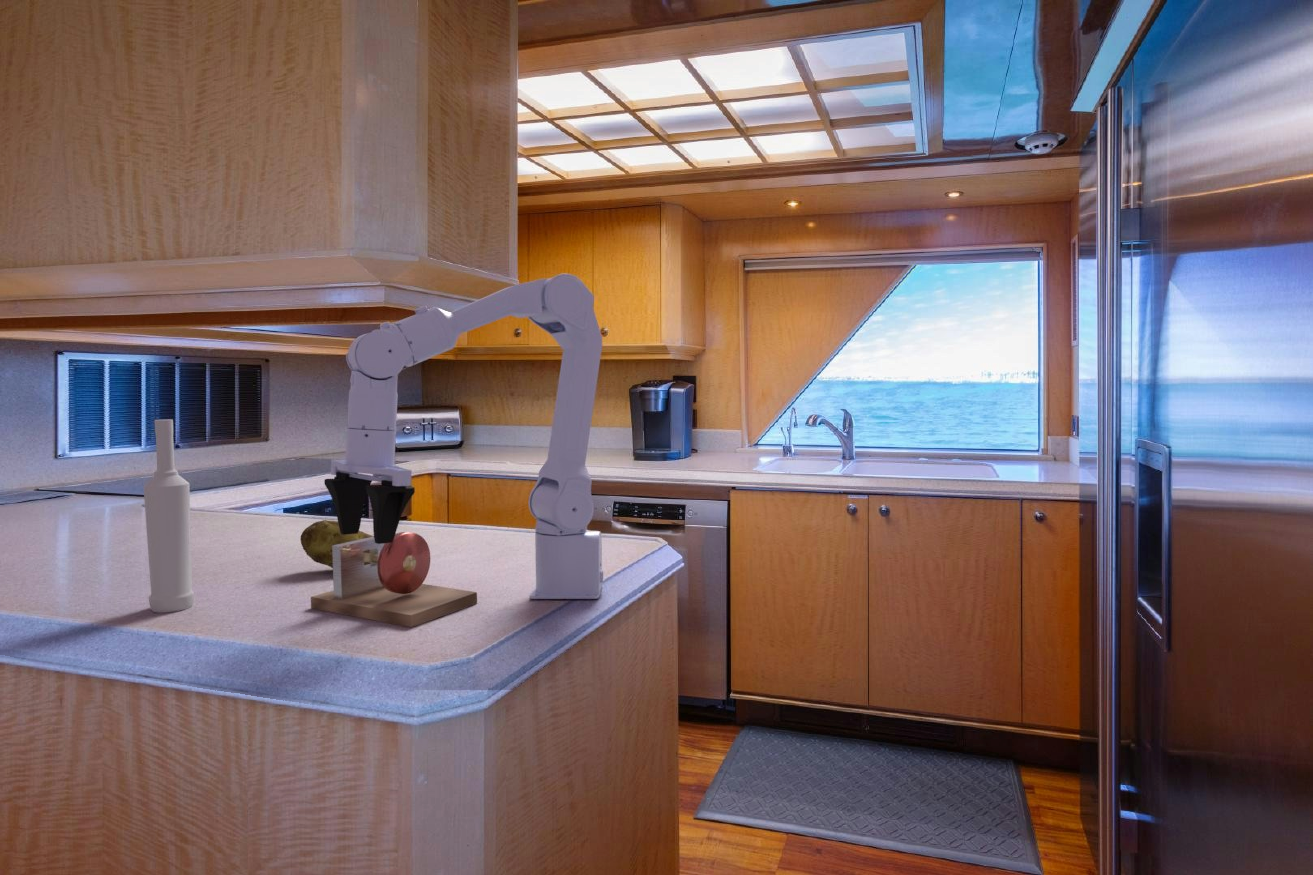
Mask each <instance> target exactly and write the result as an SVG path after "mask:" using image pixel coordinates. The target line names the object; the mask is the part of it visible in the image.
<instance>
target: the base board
mask: <svg viewBox="0 0 1313 875" xmlns="http://www.w3.org/2000/svg"><path fill="white" fill-rule="evenodd" d="M476 604H478V592H477V591H471V590H465V589H458V588H452V587H446V586H440V585H439V586H438V585H432V584H428V583H427V584H426V583H422V584H421V586H420V587H419V588H418V589H416V590H415V591H413V592H411V593H409V594H399V593H393V592H390V591H388V590H387V589H385V588H384V587H383V588H379V589H376V590H373V591H369V592H366V593H362V594H359V595H356V596H352V597H349V598H346V599H342V600H341V599H336V598H334V590H330V591H327V592H322V593H320V594H317V595H313V596H310V608H311V609H313V610H318V611H319V610H320V611H325V612H329V613H330V612H331V613H335V614H340V615H347V616H350V617H355V618H362V619H365V620H372V621H376V622H382V623H388V624H393V625H398V626H402V627H409V628H412V627H413V628H414V627H416V626H418V625H419V626H420V625H421V624H424V623H427V622H430V621H432V620H435V619H437V618H440V617H443V616H446V615H448V614H451V613H455V612H458V611H460V610H462V609H465V608H468V607H470V606H473V605H476Z"/></svg>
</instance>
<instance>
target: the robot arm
mask: <svg viewBox="0 0 1313 875" xmlns="http://www.w3.org/2000/svg"><path fill="white" fill-rule="evenodd" d="M594 300H595V295H594V294H593V293H592V292H591V291H590V290H589V287H587V286H586V284H585V283H584V282H583V281H582V280H581V279H580V278H578V276H576V275H574V274H572V273H560V274H556V275H555V276H553V277H550V278H547V277H546V278H541V279H535V280H533V281H528V282H527V281H526V282H523V283H517V284H515V285H511V286H508V287H505V288H503V289H500V290H498V291H495V292H493V293H491V294H489V295H486V296H484V297H481V298H479V299H477V300H475V301H472V302H471V303H468V304H466V305H464V306H461V307H459V308H457V309H455V310H452V311H446V310H444V309H442V308H440V307H437V306H433V307H430V308H428V306H427V305H423V306H421V307H418V308H416V309H414V312H415V314H414V315H413V314H412V315H411V316H409V317H408V316H407V317H405V318H403V319H400V320H397V321H395V322H393V323H390V321H385V322H382V323H380V324H379V328H380V329H379V328H378V329H373V330H372V331H371V332H367V333H364V334H361V335H359V336H358V337H356V338H355V339H354V340H353V341H352V343H351V344H350V346H349V348H348V351H347V353H346V354H345V361H346V363H347V366H348V369H350V371H351V372H350V374H351V375H350V378H349V382H350V389H349V392H348V404H347V405H348V406H347V424H346V444H345V445H346V446H345V459H331V461H330V462H331V463H330V475H332V476H333V475H334V478H324V482H323V483H324V485H325V488H326V489H327V491H328V492H329V496H330V497H331V500H332V503H333V506H334V510H335V514H336V518H337V521H338V524H339V529H340V533H341V534H343V535H346V534H357V533H358V531H360V528H361V524H362V523H361V522H362V515H363V508H364V503H365V499H366V496H368V498H369V502H370V507H371V511H372V522H373V525H372V526H373V527H372V528H373V536H374V540H375V543H377V544H382V543H392V542H393V540H394V537H395V533H397V529H398V526H399V523H400V521H401V517H402V515H403V513H404V510H405V509H406V507H407V505H408V503H409V501H410V500H411V498H412V497H413V496H414V494H415V492H416V490H415V489H416V488H415V487H414V486H411V485H412V474H413V473H412V472H413V470H412V469H407V468H404V467H402V466H399V465H395V460H396V459H395V456H396V435H397V419H398V418H397V417H398V416H397V414H398V400H399V399H398V398H399V397H398V396H399V394H398V376H399V373H401V371H402V370H403V368H404V367H406V368H409V367H413V366H415V365H417V364H420V363H422V362H424V361H427V360H429V359H431V358H433V357H434V358H435V357H437V356H438V355H442V354H443V353H445V352H448V351H451V350H453V349H454V348H455V346H456V344H457V342H458V340H459V337H460V335H462V334H464V333H467V332H469V331H472V330H475V329H477V328H480V327H483V326H486V325H488V324H491V323H493V322H496V321H499V320H501V319H504V318H507V317H509V316H511V317H515V318H517V319H518V318H519V319H524V318H527V319H529V321H531V322H532V323H533V324H535V325H536V326H538V327H539V328H541V329H542V330H544V331H546V332H547V333H548V334H549V335H550V336H551V337H552V338H553V339H554V341H555V342H556V343H557V344H558V346H559V347H560V348H561V350H562V356H561V361H560V362H561V364H560V371H559V376H558V383H557V389H556V390H557V391H556V398H555V405H554V411H553V418H552V424H551V425H552V426H551V432H550V433H551V434H550V438H549V439H550V440H549V447H548V452H547V459H546V461H545V463H543V465H542V466H541V468H540V470H539V471H538V477H537V481H536V483H535V485H534V487H533V488H532V490H531V491H530V494H529V497H528V508H529V511H530V514H531V515H532V517H533V518H534V519H536V524H535V527H534V530H535V532H534V533H535V534H534V536H535V539H534V540H535V548H534V549H535V585H534V587H533V589H532V590H531V593H530V594H529V599H531V600H564V599H565V600H597V599H599V598H600V594H601V591H602V588H603V583H604V570H603V557H602V555H603V552H602V548H603V547H602V546H603V545H602V544H603V542H602V532H601V531H599V530H589V529H588V525H589V524H590V522H591V521H592V518H593V517H594V513H595V503H594V500H593V496H592V482H593V481H592V477H591V475H590V473H589V471H588V468H587V467H586V461H587V460H586V459H587V454H588V448H589V446H588V445H589V440H590V433H591V427H592V426H591V425H592V424H591V423H592V418H593V411H594V405H595V398H596V392H597V383H598V377H599V370H600V363H601V357H602V350H603V336H602V333H601V329H600V326H599V324H598V320H597V316H596V313H595V310H594ZM372 482H378V483H381V484H372Z"/></svg>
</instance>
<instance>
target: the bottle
mask: <svg viewBox="0 0 1313 875" xmlns="http://www.w3.org/2000/svg"><path fill="white" fill-rule="evenodd" d="M154 433H155V434H154V435H155V446H156V447H155V448H156V449H155V450H156V451H155V452H156V471H154V472H153V474H154V475H153V476H152V477H151V478H150V479H149V480H148V481H147V482H146V483H144V485H143V500H144V512H145V526H146V528H145V529H146V538H147V539H146V541H147V553H148V554H147V555H148V568H149V580H150V582H149V583H150V595H149V596H148V602H149V603H148V604H149V607H150V610H151V612H153V613H160V614H161V613H173V612H180V611H183V610H187V609H189V608H192V607H193V605H194V604H195V603H194V602H195V591H194V590H193V589H192V585H193V584H192V545H191V544H192V541H191V540H192V539H191V504H190V502H191V501H190V500H191V494H190V488H191V486H190V482H188V481H187V480H186V479H185V478H183V477H182V476H181V475H180V474H179V471H178V470H177V469H176V467H175V450H174V449H175V447H174V445H175V444H174V420H173V419H171V418H170V419H169V418H168V419H154Z"/></svg>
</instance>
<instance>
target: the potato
mask: <svg viewBox="0 0 1313 875" xmlns="http://www.w3.org/2000/svg"><path fill="white" fill-rule="evenodd" d="M369 537H374V535H372V534H368V533H366V532H364V531H361V530H359V531H358V533H357V534H346V535H343V534H341V533H340V529H339V524H338V520H326V519H325V520H324V519H323V520H320V521H316V522H314V523H312V524H311V525H309V526H308V527H306V528H305V529H304V530H303V531H302V532H301V535H300V543H301V546H302V550H304V552H305V554H306V556H308V557H309V558H310V559H311V560H312V561H313V562H314V563H318V564H321V565H324V566H328V567H330V568H331V569H333V553H332V546H333V545H337V544H342V543H346V542H351V541H355V540H360V539H364V538H369ZM364 553H370V550H366V551H364ZM368 564H370V562H364V565H368Z"/></svg>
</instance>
